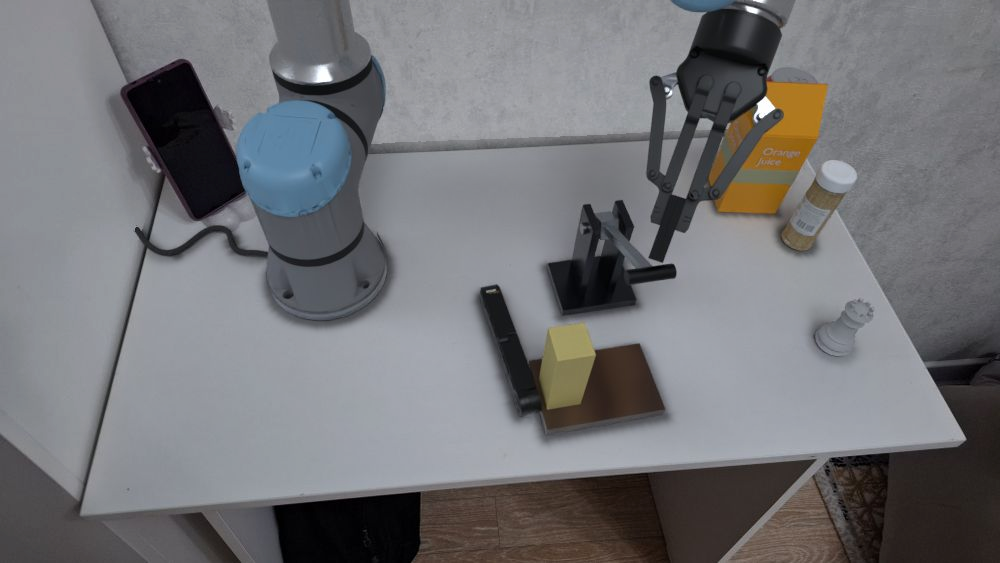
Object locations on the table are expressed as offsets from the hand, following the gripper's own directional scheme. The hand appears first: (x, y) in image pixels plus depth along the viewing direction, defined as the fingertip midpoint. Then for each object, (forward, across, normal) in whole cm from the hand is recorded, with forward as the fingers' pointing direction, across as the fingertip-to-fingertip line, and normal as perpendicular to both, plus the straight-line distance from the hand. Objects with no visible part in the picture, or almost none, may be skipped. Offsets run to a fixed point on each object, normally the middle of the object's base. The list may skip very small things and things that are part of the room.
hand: (655, 259), depth 61 cm
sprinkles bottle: (-7, -18, -34) cm, 39 cm away
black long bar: (+17, +13, -10) cm, 23 cm away
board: (+17, +2, -9) cm, 20 cm away
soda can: (-18, -10, -45) cm, 49 cm away
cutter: (+7, +7, -20) cm, 22 cm away
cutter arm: (+1, +3, -6) cm, 7 cm away
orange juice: (-12, -9, -39) cm, 41 cm away
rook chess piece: (+4, -24, -23) cm, 34 cm away
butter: (+18, +5, -6) cm, 20 cm away
